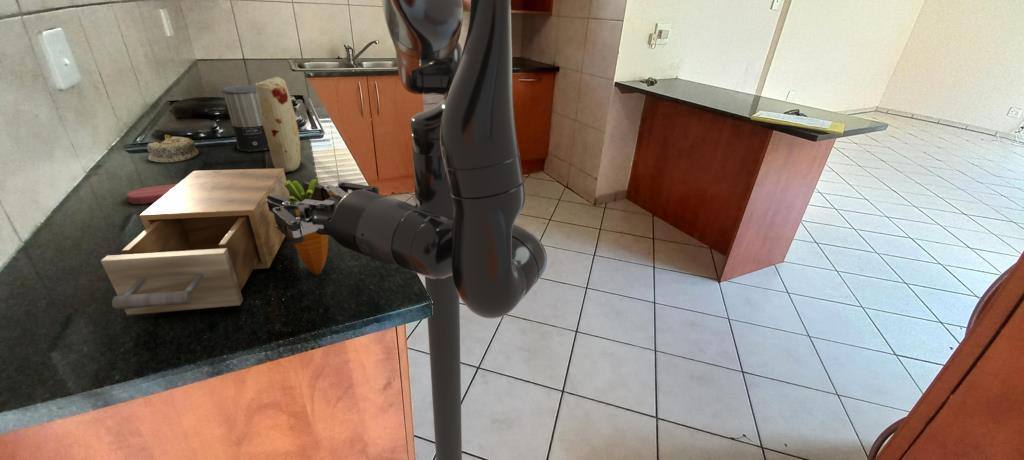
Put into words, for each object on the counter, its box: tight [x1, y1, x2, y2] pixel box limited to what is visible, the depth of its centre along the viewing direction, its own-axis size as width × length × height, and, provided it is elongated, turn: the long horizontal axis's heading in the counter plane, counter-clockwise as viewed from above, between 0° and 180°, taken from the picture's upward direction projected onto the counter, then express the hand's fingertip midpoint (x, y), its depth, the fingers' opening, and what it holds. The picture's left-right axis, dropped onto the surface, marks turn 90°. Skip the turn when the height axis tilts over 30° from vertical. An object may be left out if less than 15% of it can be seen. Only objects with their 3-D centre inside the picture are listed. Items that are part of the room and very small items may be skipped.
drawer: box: [100, 215, 260, 316], centre depth 55 cm, size 20×12×8 cm, turn 12°
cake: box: [146, 134, 200, 163], centre depth 101 cm, size 10×10×5 cm
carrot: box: [284, 178, 329, 276], centre depth 58 cm, size 5×5×15 cm
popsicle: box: [126, 183, 178, 205], centre depth 83 cm, size 5×2×15 cm
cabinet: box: [139, 168, 291, 270], centre depth 66 cm, size 17×14×10 cm
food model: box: [255, 76, 302, 173], centre depth 94 cm, size 10×7×20 cm
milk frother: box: [219, 84, 270, 152], centre depth 111 cm, size 14×16×15 cm
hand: (289, 195), depth 57 cm, fingers closed on carrot, 4 cm apart
